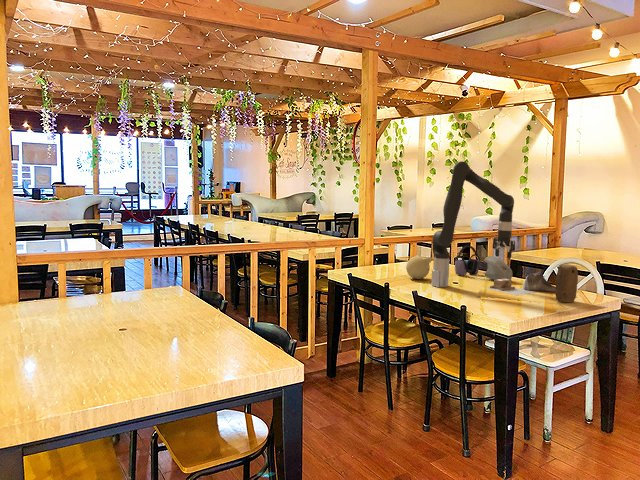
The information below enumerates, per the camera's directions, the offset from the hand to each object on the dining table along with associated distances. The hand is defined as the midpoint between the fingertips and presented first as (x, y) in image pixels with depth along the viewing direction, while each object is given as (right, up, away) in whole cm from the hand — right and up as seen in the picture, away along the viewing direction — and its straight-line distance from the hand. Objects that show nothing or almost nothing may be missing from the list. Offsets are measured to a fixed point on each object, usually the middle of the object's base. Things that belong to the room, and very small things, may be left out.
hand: (502, 257), depth 302 cm
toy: (-43, -15, +35) cm, 57 cm away
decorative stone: (+8, -16, +33) cm, 38 cm away
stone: (+24, -23, -25) cm, 42 cm away
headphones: (-7, -14, +52) cm, 54 cm away
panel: (+3, -20, -4) cm, 21 cm away
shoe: (+23, -21, -5) cm, 31 cm away
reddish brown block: (0, -18, 0) cm, 18 cm away
